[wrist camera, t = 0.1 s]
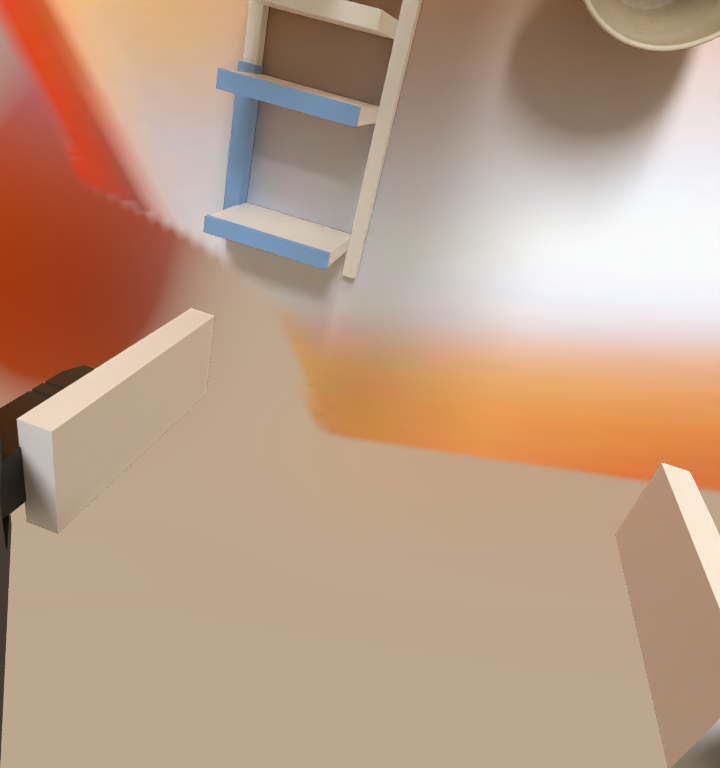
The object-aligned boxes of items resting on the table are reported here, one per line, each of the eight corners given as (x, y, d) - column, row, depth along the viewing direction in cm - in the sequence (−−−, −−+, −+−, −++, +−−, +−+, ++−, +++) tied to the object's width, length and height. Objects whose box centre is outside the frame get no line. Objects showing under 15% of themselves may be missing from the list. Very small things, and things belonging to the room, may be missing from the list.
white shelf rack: (293, -354, 29) (240, -462, 24) (497, -316, 28) (492, -420, 23) (228, 235, 45) (187, 254, 39) (356, 275, 44) (333, 300, 38)
